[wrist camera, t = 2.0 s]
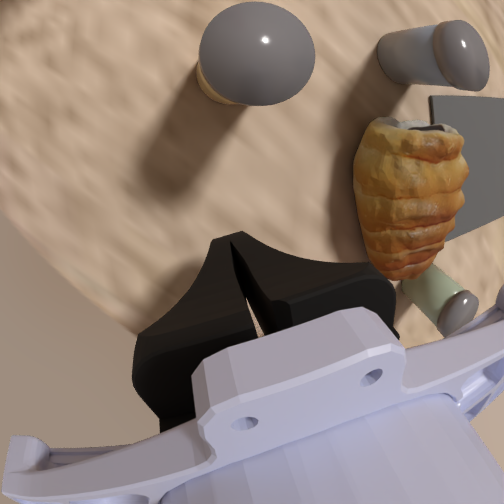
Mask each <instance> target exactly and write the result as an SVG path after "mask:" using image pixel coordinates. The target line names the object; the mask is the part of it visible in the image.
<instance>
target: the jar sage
mask: <svg viewBox="0 0 504 504" xmlns="http://www.w3.org/2000/svg"><path fill="white" fill-rule="evenodd" d="M402 291H403V293H404V294H405V295H406V296H407V297H408V298H409V299H410V300H411V301H412V302H413V303H414V304H415V305H416V306H417V307H418V308H419V309H420V310H421V311H422V312H423V313H424V314H425V315H426V316H427V317H428V318H429V319H430V320H431V321H432V322H433V323H434V324H435V326H436V327H437V330H438V331H439V332H440V333H441V334H442V335H443V336H444V337H447V336H448V335H450V334H452V333H453V332H455V331H456V330H458V329H460V328H461V327H463V326H464V325H466V324H467V323H469V322H470V321H472V320H473V318H474V316H475V314H476V312H477V309H478V305H479V300H478V298H477V297H476V296H474V295H473V294H472V293H471V292H470V291H469V290H465V289H464V288H463V287H461V286H460V285H459V284H458V283H457V282H455V281H454V280H453V279H452V278H451V277H449V276H448V275H447V274H446V273H444V272H443V271H442V270H441V269H439V268H438V267H437V266H436V265H434V264H433V263H432V264H431V265H430V267H429V268H428V269H426V270H425V271H424V272H423V273H422V274H421V275H420V276H419V277H418V278H417V279H415V280H408V279H404V280H403V281H402Z"/></svg>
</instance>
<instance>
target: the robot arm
mask: <svg viewBox="0 0 504 504" xmlns="http://www.w3.org/2000/svg"><path fill="white" fill-rule="evenodd" d="M246 298H247V300H248V302H249V304H250V306H251V309H252V311H253V313H254V315H255V317H256V319H257V321H258V323H259V325H260V327H261V329H262V331H263V333H264V335H265V336H264V337H260V338H258V336H257V332H256V329H255V326H254V323H253V320H252V317H251V314H250V311H249V308H248V305H247V300H246ZM395 306H396V292H395V289H394V287H393V284H392V283H391V282H390V281H389V280H388V279H387V278H386V277H385V276H384V275H383V274H382V273H381V272H380V271H379V270H378V269H376V268H375V267H374V266H373V265H372V264H370V263H369V262H362V263H333V262H322V261H315V260H310V259H304V258H300V257H296V256H293V255H290V254H286V253H284V252H281V251H278V250H276V249H274V248H271V247H269V246H267V245H265V244H263V243H262V242H260V241H258V240H256V239H255V238H253V237H252V236H250V235H248V234H247V233H245V232H243V231H240V232H236V233H233V234H230V235H226V236H223V237H220V238H216V239H213V240H212V241H211V243H210V248H209V251H208V254H207V257H206V259H205V262H204V264H203V266H202V268H201V270H200V272H199V274H198V276H197V278H196V280H195V281H194V283H193V284H192V286H191V287H190V289H189V290H188V291H187V293H186V294H185V295H184V296H183V297H182V298H181V299H180V300H179V302H178V303H177V304H176V305H175V306H174V307H173V308H172V309H171V310H170V311H169V312H167V313H166V314H165V315H164V316H163V317H162V318H160V319H159V320H158V321H157V322H155V323H154V324H152V325H151V326H149V327H148V328H147V329H145V330H144V331H142V332H141V333H139V334H138V337H137V341H136V345H135V351H134V358H133V369H132V382H133V386H134V388H135V390H136V392H137V393H138V395H139V396H140V397H141V398H142V399H143V401H144V402H145V403H146V404H147V405H148V406H149V408H151V410H152V411H153V412H154V413H155V414H156V415H157V417H158V418H159V422H160V434H158V435H155V436H153V437H150V438H147V439H145V440H142V441H139V442H137V443H134V444H128V445H119V446H106V447H90V448H50V447H49V446H48V445H47V444H45V443H44V442H43V441H42V440H40V439H38V438H36V437H34V436H25V435H12V436H11V440H10V444H9V449H8V453H7V459H6V464H5V469H4V476H3V482H2V489H1V492H2V493H3V494H4V495H5V496H7V497H9V498H10V499H12V500H14V501H16V502H18V503H20V504H504V472H503V471H502V469H501V468H500V466H499V465H498V463H497V461H496V460H495V458H494V457H493V455H492V454H491V453H490V451H489V449H488V448H487V447H486V445H485V444H484V442H483V441H482V439H481V438H480V436H479V435H478V434H477V432H476V431H475V429H474V428H473V427H472V425H471V424H470V421H471V420H472V419H474V418H475V417H476V416H477V415H478V414H479V413H480V412H481V411H483V410H484V409H485V408H486V407H487V406H488V405H489V404H490V403H491V402H492V401H493V400H494V399H495V398H496V397H498V396H499V395H500V394H501V393H502V392H503V391H504V285H503V286H502V287H501V289H500V290H499V293H498V295H497V298H496V304H495V305H494V306H492V307H491V308H489V309H488V310H487V311H485V312H484V313H482V314H481V315H479V316H478V317H476V318H475V319H473V320H472V321H470V322H469V323H467V324H466V325H464V326H463V327H461V328H460V329H458V330H456V331H455V332H453V333H452V334H450V335H448V336H447V337H445V338H443V339H442V340H438V341H435V342H431V343H427V344H423V345H419V346H415V347H411V348H407V349H405V348H404V347H403V345H402V344H401V343H400V342H399V338H400V336H399V334H398V332H397V331H396V330H395V329H394V328H393V322H394V314H395Z"/></svg>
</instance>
